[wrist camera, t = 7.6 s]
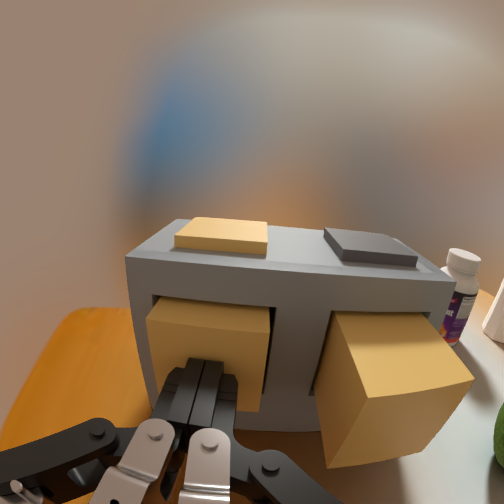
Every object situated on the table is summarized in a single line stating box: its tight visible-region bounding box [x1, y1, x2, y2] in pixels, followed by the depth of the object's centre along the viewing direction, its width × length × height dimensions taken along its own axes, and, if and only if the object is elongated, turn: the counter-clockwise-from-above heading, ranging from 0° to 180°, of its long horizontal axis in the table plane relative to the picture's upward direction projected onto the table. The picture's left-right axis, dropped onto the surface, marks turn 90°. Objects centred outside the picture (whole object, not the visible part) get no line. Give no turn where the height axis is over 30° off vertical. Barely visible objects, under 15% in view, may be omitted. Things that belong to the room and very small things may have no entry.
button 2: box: [312, 310, 475, 469], centre depth 11 cm, size 5×8×5 cm, turn 178°
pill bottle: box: [439, 248, 481, 347], centre depth 23 cm, size 5×5×10 cm
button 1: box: [146, 296, 270, 412], centre depth 15 cm, size 5×8×5 cm, turn 178°
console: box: [125, 217, 457, 432], centre depth 17 cm, size 16×8×12 cm, turn 88°
